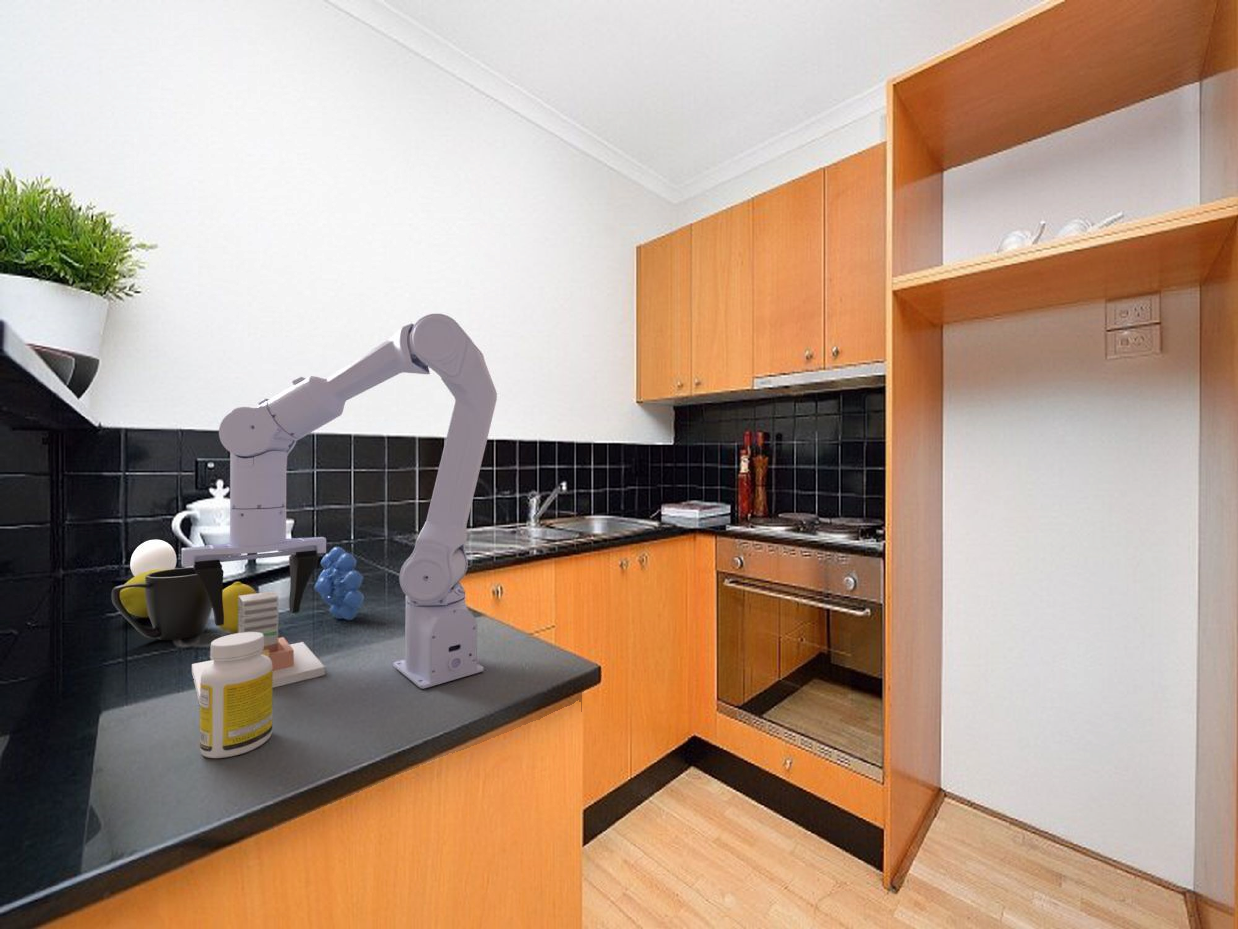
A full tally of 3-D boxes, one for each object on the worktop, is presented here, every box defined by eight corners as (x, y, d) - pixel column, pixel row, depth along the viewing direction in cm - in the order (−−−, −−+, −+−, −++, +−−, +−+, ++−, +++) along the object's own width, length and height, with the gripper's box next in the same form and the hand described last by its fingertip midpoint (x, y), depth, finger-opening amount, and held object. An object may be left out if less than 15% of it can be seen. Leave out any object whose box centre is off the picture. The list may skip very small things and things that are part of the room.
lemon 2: (234, 641, 75) (235, 586, 75) (203, 638, 76) (204, 585, 76) (267, 629, 80) (268, 578, 80) (238, 627, 82) (238, 577, 82)
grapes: (296, 618, 86) (297, 547, 86) (337, 609, 92) (338, 542, 92) (331, 631, 80) (331, 554, 80) (373, 621, 85) (373, 548, 85)
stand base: (324, 674, 63) (324, 645, 63) (199, 705, 55) (199, 671, 55) (302, 649, 72) (302, 623, 72) (191, 672, 64) (191, 643, 64)
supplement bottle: (285, 728, 50) (285, 628, 50) (246, 760, 45) (247, 648, 45) (228, 729, 50) (229, 629, 50) (183, 761, 45) (184, 649, 45)
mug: (100, 645, 73) (100, 578, 73) (201, 622, 84) (201, 564, 84) (122, 655, 69) (123, 585, 69) (225, 631, 80) (226, 569, 80)
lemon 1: (183, 606, 94) (184, 562, 94) (204, 612, 90) (204, 566, 90) (102, 622, 84) (103, 573, 84) (121, 629, 80) (121, 578, 80)
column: (278, 643, 63) (278, 596, 63) (242, 650, 61) (242, 602, 61) (272, 636, 66) (273, 591, 66) (238, 642, 64) (238, 595, 64)
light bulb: (133, 594, 102) (133, 539, 102) (177, 589, 106) (178, 536, 106) (127, 602, 96) (127, 543, 96) (174, 596, 100) (174, 540, 100)
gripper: (317, 502, 72) (316, 600, 71) (180, 508, 62) (179, 621, 62) (330, 506, 66) (330, 611, 66) (183, 512, 56) (183, 636, 56)
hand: (258, 617), depth 64 cm, fingers open, 7 cm apart
